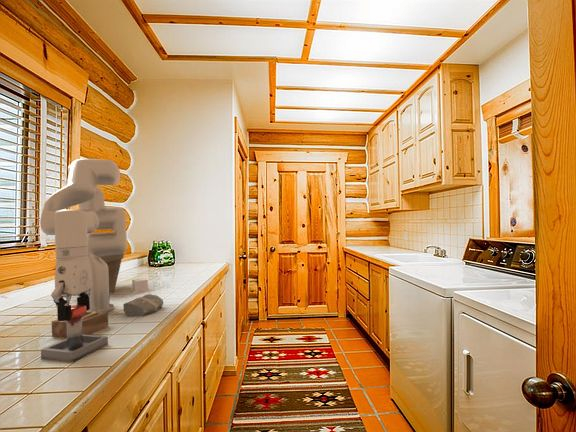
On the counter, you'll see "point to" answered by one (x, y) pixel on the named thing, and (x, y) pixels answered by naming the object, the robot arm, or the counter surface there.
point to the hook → (75, 327)
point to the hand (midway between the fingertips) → (74, 314)
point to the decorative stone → (143, 305)
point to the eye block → (89, 324)
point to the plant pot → (113, 269)
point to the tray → (63, 354)
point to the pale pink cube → (140, 285)
